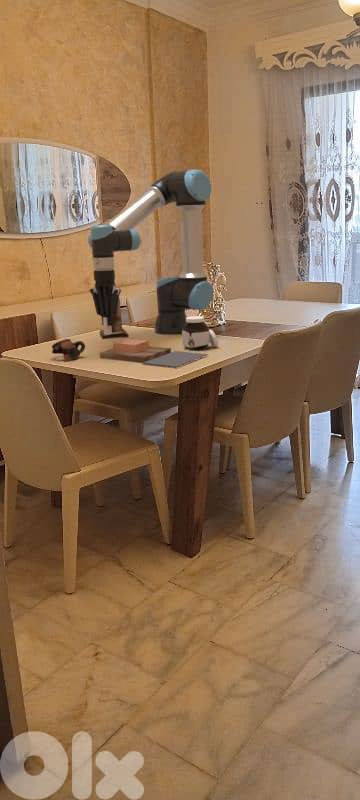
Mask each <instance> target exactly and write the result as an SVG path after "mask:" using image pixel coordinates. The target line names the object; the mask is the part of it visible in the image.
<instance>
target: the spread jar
mask: <svg viewBox="0 0 360 800" xmlns="http://www.w3.org/2000/svg"><path fill="white" fill-rule="evenodd" d="M186 322H187V323H186V324H185V325H184V326H183V328H182V333H181V339H182V345H183V346H184V348H185V349H186V350H188V349H189V351H200V350H199V349H203V350H205V349H206V348H208V346H209V345H211V346H212V347H213V346H214V347H213V348H215V347H217V346H219V339H218V338H217V335H216V334H215V332H214V331H213V330H212V328H211V329H209V325H208V324H207V323H206V321H205V317H204V316H201V315H200V316H199V315H193V316H191V315H190V316H187V318H186ZM204 348H205V349H204Z"/></svg>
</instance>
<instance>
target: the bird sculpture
mask: <svg viewBox="0 0 360 800" xmlns="http://www.w3.org/2000/svg"><path fill="white" fill-rule="evenodd" d="M113 270H114V271H115V269H114V268H113ZM114 283H115V284H116V279H115V280H114ZM115 287H116V288H117V285H115ZM112 294H113V293H112ZM121 307H122V306H121V298H119V300H118V307H117V314H116V315H114V316H113V317H112V323H113V325H112V326H111V327H112V334H116V333H117V334H118V333H119V334H120V333H121V334H122V333H123V334H125V335H126V336H127V337H129V333H128V332H127V330H125V329H124V328H123V323H122V309H121ZM99 335H100V337H101V338H102V339H104V338H105V336H106V335H104V328H102V329H100V330H99Z"/></svg>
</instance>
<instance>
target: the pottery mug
mask: <svg viewBox="0 0 360 800" xmlns="http://www.w3.org/2000/svg"><path fill="white" fill-rule="evenodd" d="M79 346H80V349H79ZM51 349H52V351H51V354H55V355H56V354H59V355H60V354H61V355H62V358H63V359H64V362H70V361H72V360H79V357H80V356H81V353H83V352H84V350H85V349H86V344H85V342H84V341H82V340H77V341H75V342H72V340H71V338H65V339H62V340H59V341H57V342H56V343H54V344H52V345H51Z"/></svg>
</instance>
